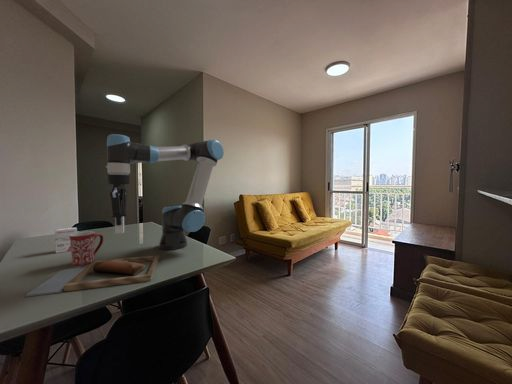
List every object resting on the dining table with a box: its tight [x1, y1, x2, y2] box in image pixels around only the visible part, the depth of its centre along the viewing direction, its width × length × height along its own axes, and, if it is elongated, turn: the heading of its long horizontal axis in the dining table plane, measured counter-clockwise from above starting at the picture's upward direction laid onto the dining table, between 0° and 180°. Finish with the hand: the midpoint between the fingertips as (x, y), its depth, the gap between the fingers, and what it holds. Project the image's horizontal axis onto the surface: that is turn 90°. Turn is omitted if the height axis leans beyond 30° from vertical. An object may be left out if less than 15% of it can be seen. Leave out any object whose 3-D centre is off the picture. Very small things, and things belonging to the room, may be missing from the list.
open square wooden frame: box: [63, 254, 160, 293], centre depth 83 cm, size 26×23×2 cm
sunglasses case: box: [93, 259, 147, 276], centre depth 84 cm, size 18×7×7 cm
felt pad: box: [25, 267, 86, 298], centre depth 75 cm, size 9×20×1 cm, turn 18°
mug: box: [69, 230, 104, 267], centre depth 94 cm, size 13×9×14 cm
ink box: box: [54, 227, 78, 254], centre depth 109 cm, size 8×5×12 cm, turn 133°
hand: (119, 232), depth 82 cm, fingers closed
